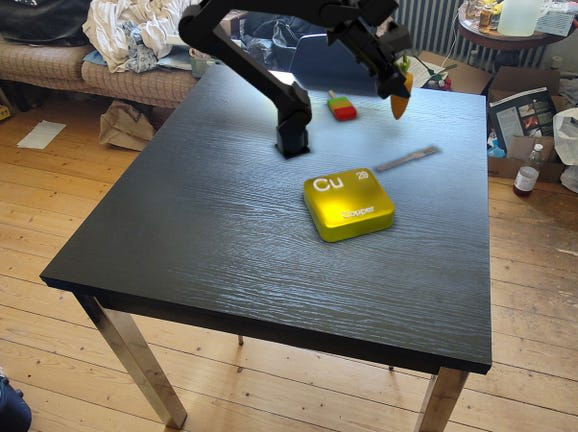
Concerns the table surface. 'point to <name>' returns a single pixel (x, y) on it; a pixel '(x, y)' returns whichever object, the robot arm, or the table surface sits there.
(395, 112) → the carrot
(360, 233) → the element tile
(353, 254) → the table surface
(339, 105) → the popsicle
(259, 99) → the table surface
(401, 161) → the thin grey rod
